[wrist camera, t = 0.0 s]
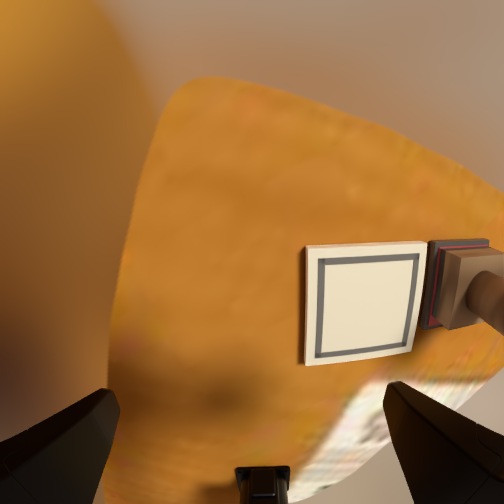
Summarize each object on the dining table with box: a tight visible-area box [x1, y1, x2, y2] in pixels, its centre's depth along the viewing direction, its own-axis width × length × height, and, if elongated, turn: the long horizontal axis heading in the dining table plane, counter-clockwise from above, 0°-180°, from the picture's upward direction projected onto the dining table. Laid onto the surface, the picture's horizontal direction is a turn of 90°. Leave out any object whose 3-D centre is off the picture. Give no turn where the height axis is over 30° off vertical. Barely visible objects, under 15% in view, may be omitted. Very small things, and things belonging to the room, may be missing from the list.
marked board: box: [304, 241, 427, 366], centre depth 22 cm, size 10×10×1 cm
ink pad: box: [419, 238, 489, 330], centre depth 22 cm, size 8×7×1 cm
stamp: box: [432, 246, 504, 336], centre depth 16 cm, size 6×6×11 cm
